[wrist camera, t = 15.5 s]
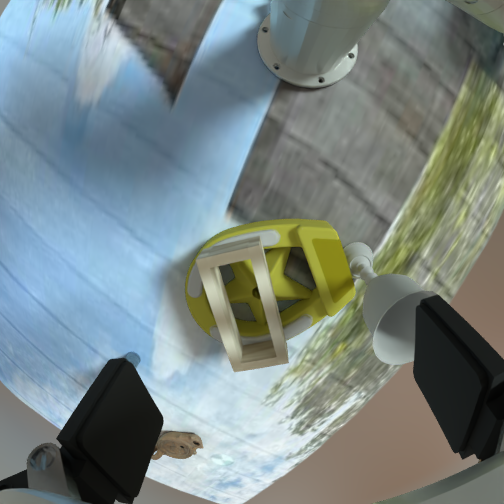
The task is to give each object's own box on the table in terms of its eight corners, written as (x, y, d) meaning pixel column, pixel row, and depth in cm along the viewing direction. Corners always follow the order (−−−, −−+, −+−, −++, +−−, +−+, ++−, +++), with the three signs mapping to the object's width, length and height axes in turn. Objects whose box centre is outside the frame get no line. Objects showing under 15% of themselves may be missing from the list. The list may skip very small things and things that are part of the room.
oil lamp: (194, 422, 50) (189, 441, 45) (213, 444, 52) (210, 462, 47) (142, 431, 52) (135, 448, 47) (163, 451, 54) (157, 467, 49)
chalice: (355, 294, 41) (403, 375, 23) (319, 267, 40) (355, 343, 22) (389, 254, 39) (459, 315, 21) (354, 223, 38) (417, 273, 20)
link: (202, 249, 35) (195, 259, 32) (260, 235, 35) (259, 245, 31) (236, 353, 39) (234, 372, 36) (286, 344, 39) (288, 362, 35)
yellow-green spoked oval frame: (354, 302, 41) (364, 319, 37) (222, 348, 45) (217, 368, 40) (317, 192, 37) (325, 197, 32) (171, 252, 40) (159, 264, 36)
